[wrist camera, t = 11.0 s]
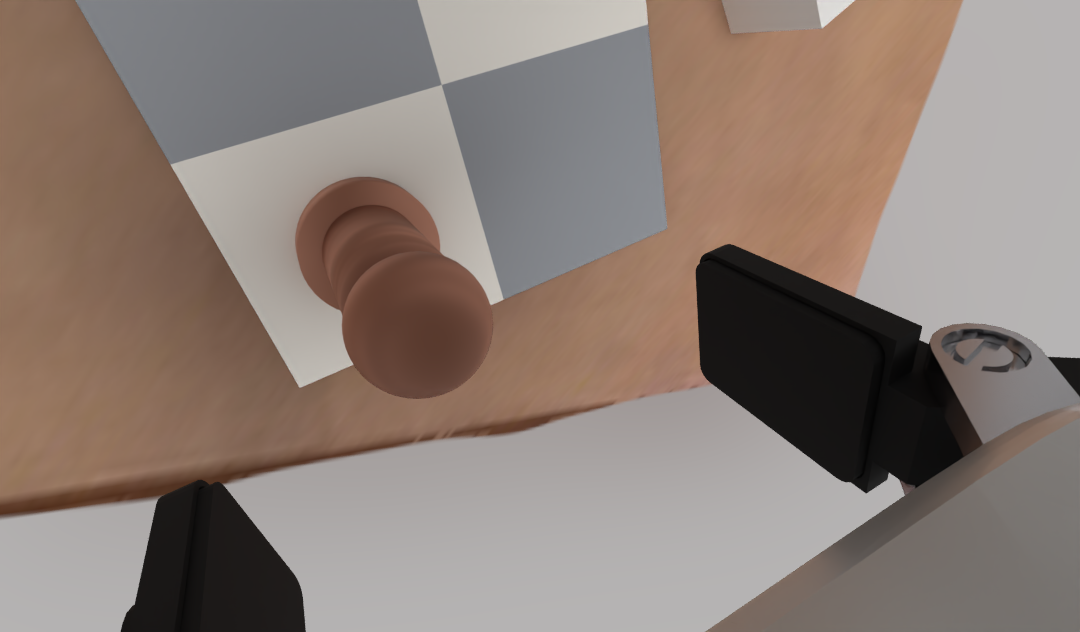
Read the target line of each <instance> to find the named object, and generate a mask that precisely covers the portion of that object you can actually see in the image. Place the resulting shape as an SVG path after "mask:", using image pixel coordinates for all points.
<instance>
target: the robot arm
mask: <svg viewBox="0 0 1080 632" xmlns="http://www.w3.org/2000/svg"><path fill="white" fill-rule="evenodd" d="M696 288H697V308H698V329H699V350H700V367H701V370H702V373H703V375H704V376H705V378H706V379H707V380H708V381H709V382H710V383H712V384H713V385H714V386H716V387H717V388H718V389H719V390H721V391H722V392H724V393H725V394H726V395H728V396H729V397H730V398H731V399H733V400H734V401H735V402H737V403H738V404H739V405H741V406H742V407H743V408H745V409H746V410H747V411H749V412H750V413H751V414H753V415H754V416H755V417H757V418H758V419H759V420H761V421H762V422H763V423H765V424H766V425H767V426H768V427H770V428H771V429H773V430H774V431H775V432H777V433H778V434H779V435H780V436H782V437H783V438H784V439H786V440H787V441H788V442H790V443H791V444H792V445H794V446H795V447H796V448H798V449H799V450H800V451H802V452H803V453H804V454H806V455H807V456H808V457H810V458H811V459H812V460H813V461H815V462H816V463H817V464H819V465H820V466H821V467H823V468H824V469H826V470H827V471H828V472H830V473H831V474H832V475H833V476H835V477H836V478H838V479H839V480H841V481H844V482H851V483H853V484H854V485H855V486H857V487H858V488H859V489H861V490H862V491H864V492H865V493H868V492H869V491H871V490H872V489H874V488H875V487H877V486H878V485H880V484H881V483H883V482H884V481H886V480H887V478H888V474H889V473H891V474H892V475H894V476H895V477H897V478H898V479H899V480H900V483H901V485H902V488H903V491H904V494H905V496H904V497H902V498H901V499H899V500H898V501H896V502H895V503H893V504H892V505H890V506H889V507H888V508H886V509H885V510H883V511H882V512H880V513H879V514H877V515H876V516H874V517H873V518H872V519H870V520H868V521H867V522H865V523H864V524H863V525H861V526H860V527H858V528H857V529H855V530H854V531H852V532H851V533H849V534H848V535H846V536H845V537H843V538H842V539H840V540H839V541H838V542H836V543H834V544H833V545H832V546H830V547H829V548H827V549H826V550H824V551H823V552H821V553H820V554H818V555H817V556H815V557H814V558H812V559H811V560H809V561H808V562H806V563H805V564H804V565H802V566H801V567H799V568H798V569H796V570H795V571H793V572H792V573H791V574H789V575H788V576H786V577H785V578H783V579H782V580H780V581H779V582H778V583H776V584H774V585H773V586H771V587H770V588H769V589H767V590H766V591H764V592H763V593H761V594H760V595H758V596H757V597H756V598H754V599H753V600H751V601H750V602H748V603H747V604H745V605H744V606H742V607H741V608H739V609H738V610H736V611H735V612H734V613H732V614H731V615H729V616H728V617H726V618H725V619H724V620H722V621H720V622H719V623H718V624H716V625H715V626H713V627H712V628H710V629H709V630H707V631H706V632H1080V358H1060V357H1047V356H1046V355H1045V353H1044V352H1043V351H1042V350H1041V349H1040V348H1039V347H1038V346H1037V345H1036V344H1035V343H1033V342H1032V341H1031V340H1030V339H1027V338H1026V337H1024V336H1022V335H1020V334H1018V333H1016V332H1013V331H1010V330H1007V329H1004V328H1001V327H996V326H991V325H986V324H971V323H964V324H954V325H950V326H947V327H944V328H941V329H939V330H938V331H936V332H935V333H934V334H933V335H932V337H931V339H930V342H929V344H927V343H924V342H923V341H920V340H919V338H920V334H921V329H922V326H920V325H918V324H916V323H913V322H911V321H909V320H906V319H904V318H902V317H899V316H897V315H894V314H892V313H890V312H888V311H885V310H883V309H881V308H878V307H876V306H874V305H871V304H869V303H867V302H864V301H862V300H860V299H857V298H855V297H853V296H851V295H848V294H846V293H844V292H841V291H839V290H837V289H834V288H832V287H830V286H827V285H825V284H823V283H820V282H818V281H816V280H813V279H811V278H809V277H806V276H804V275H802V274H799V273H797V272H795V271H792V270H790V269H788V268H786V267H783V266H781V265H779V264H776V263H774V262H772V261H769V260H767V259H765V258H762V257H760V256H758V255H755V254H753V253H751V252H748V251H746V250H744V249H741V248H739V247H737V246H734V245H731V244H727V245H724V246H721V247H719V248H717V249H715V250H713V251H710V252H708V253H706V254H704V255H703V256H702V257H701V259H700V264H699V265H698V266H697V268H696ZM121 632H306V630H305V618H304V607H303V597H302V591H301V588H300V585H299V582H298V580H297V578H296V577H295V575H294V574H293V572H292V571H291V570H290V568H289V567H288V566H287V565H286V563H285V562H284V561H283V560H282V559H281V557H280V556H279V555H278V553H277V552H276V551H275V550H274V548H273V547H272V546H271V545H270V543H269V542H268V541H267V540H266V538H265V537H264V536H263V534H262V533H261V532H260V531H259V529H258V528H257V527H256V526H255V524H254V523H253V522H252V520H251V519H250V518H249V517H248V516H247V514H246V513H245V512H244V510H243V509H242V508H241V507H240V505H239V504H238V503H237V502H236V500H235V499H234V498H233V496H232V495H231V494H230V493H229V492H228V490H227V489H226V488H225V487H224V485H223V484H221V483H220V482H215V483H213V484H211V485H209V484H208V483H207V482H205V481H203V480H197V481H195V482H193V483H191V484H188V485H186V486H184V487H182V488H179V489H177V490H175V491H173V492H170V493H168V494H166V495H164V496H162V497H160V498H159V499H158V501H157V504H156V508H155V513H154V517H153V523H152V527H151V531H150V536H149V541H148V545H147V551H146V555H145V559H144V564H143V569H142V573H141V578H140V583H139V588H138V592H137V597H136V601H135V605H133V606H132V607H131V608H130V610H129V611H128V612H127V613H126V616H125V619H124V622H123V624H122V629H121Z"/></svg>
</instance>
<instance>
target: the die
mask: <svg viewBox="0 0 1080 632" xmlns="http://www.w3.org/2000/svg"><path fill="white" fill-rule="evenodd" d="M853 1H855V0H722V4H723V7H724V10H725V14H726V17H727V21H728V24H729V27H730V31H731V34H735V33H753V32H771V31H789V30H806V29H822V28H823V27H824V26H825V25H827V24H828V23H829V22H830V21H831V20H832V19H834V18H835V17H836V16H837V15H838V14H839V13H841V12H842V11H843V10H844V9H845V8H846V7H848V6H849V5H850V4H851V3H852V2H853Z"/></svg>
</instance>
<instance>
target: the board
mask: <svg viewBox="0 0 1080 632" xmlns="http://www.w3.org/2000/svg"><path fill="white" fill-rule="evenodd" d="M75 1H76V2H77V4H78V6H79V8H80V9H81V11H82V13H83V14H84V16H85V18H86V20H87V21H88V23H89V25H90V27H91V28H92V30H93V32H94V33H95V35H96V37H97V39H98V40H99V42H100V44H101V46H102V47H103V49H104V51H105V52H106V54H107V56H108V58H109V59H110V61H111V63H112V65H113V66H114V68H115V70H116V71H117V73H118V75H119V77H120V78H121V80H122V82H123V84H124V85H125V87H126V89H127V90H128V92H129V94H130V96H131V97H132V99H133V101H134V103H135V104H136V106H137V108H138V109H139V111H140V113H141V115H142V116H143V118H144V120H145V122H146V123H147V125H148V127H149V128H150V130H151V132H152V134H153V135H154V137H155V139H156V141H157V142H158V144H159V146H160V147H161V149H162V151H163V153H164V154H165V156H166V158H167V160H168V161H169V163H170V165H171V166H172V168H173V170H174V172H175V173H176V175H177V177H178V179H179V180H180V182H181V184H182V185H183V187H184V189H185V191H186V192H187V194H188V196H189V198H190V199H191V201H192V203H193V204H194V206H195V208H196V210H197V211H198V213H199V215H200V217H201V218H202V220H203V222H204V223H205V225H206V227H207V229H208V230H209V232H210V234H211V236H212V237H213V239H214V241H215V242H216V244H217V246H218V248H219V249H220V251H221V253H222V254H223V256H224V258H225V260H226V261H227V263H228V265H229V267H230V268H231V270H232V272H233V273H234V275H235V277H236V279H237V280H238V282H239V284H240V286H241V287H242V289H243V291H244V292H245V294H246V296H247V298H248V299H249V301H250V303H251V305H252V306H253V308H254V310H255V311H256V313H257V315H258V317H259V318H260V320H261V322H262V324H263V325H264V327H265V329H266V330H267V332H268V334H269V336H270V337H271V339H272V341H273V343H274V344H275V346H276V348H277V349H278V351H279V353H280V355H281V356H282V358H283V360H284V362H285V363H286V365H287V367H288V368H289V370H290V372H291V374H292V375H293V377H294V379H295V381H296V382H297V384H298V386H299V387H300V388H301V387H303V386H305V385H308V384H310V383H312V382H315V381H317V380H319V379H322V378H324V377H326V376H328V375H331V374H333V373H335V372H338V371H340V370H342V369H345V368H347V367H349V366H352V365H354V364H353V363H352V361H351V359H350V357H349V355H348V353H347V350H346V348H345V344H344V340H343V335H342V313H341V311H340V310H338V309H335V308H334V307H332V306H330V305H328V304H327V303H325V302H324V301H323V300H321V299H320V298H319V297H318V296H317V295H316V294H315V293H314V292H313V291H312V289H311V288H310V287H309V286H308V284H307V282H306V281H305V279H304V277H303V274H302V272H301V269H300V265H299V261H298V257H297V253H296V246H295V235H296V229H297V224H298V221H299V219H300V216H301V214H302V212H303V210H304V208H305V207H306V206H307V204H308V203H309V202H310V200H311V199H312V198H313V197H314V196H315V195H316V194H317V193H319V192H320V191H321V190H323V189H324V188H326V187H327V186H329V185H331V184H333V183H335V182H338V181H340V180H344V179H348V178H353V177H374V178H380V179H384V180H387V181H390V182H392V183H395V184H396V185H398V186H400V187H402V188H403V189H405V190H406V191H407V192H409V193H410V194H411V195H412V196H414V197H415V198H416V199H417V200H418V201H419V202H420V203H421V204H422V205H423V206H424V207H425V208H426V209H427V211H428V212H429V213H430V215H431V217H432V218H433V220H434V222H435V225H436V227H437V230H438V234H439V239H440V252H441V253H442V254H443V255H444V256H445V257H448V258H450V259H452V260H454V261H456V262H458V263H459V264H461V265H462V266H463V267H465V268H466V269H467V270H469V271H470V272H471V273H472V274H473V275H474V277H475V278H476V279H477V280H478V282H479V283H480V284H481V286H482V287H483V289H484V291H485V293H486V295H487V297H488V300H489V303H490V305H492V304H495V303H497V302H499V301H502V300H504V299H506V298H509V297H511V296H513V295H515V294H518V293H520V292H522V291H525V290H527V289H529V288H532V287H534V286H536V285H539V284H541V283H543V282H545V281H548V280H550V279H552V278H555V277H557V276H559V275H562V274H564V273H566V272H569V271H571V270H573V269H575V268H578V267H580V266H582V265H585V264H587V263H589V262H592V261H594V260H596V259H599V258H601V257H603V256H605V255H608V254H610V253H612V252H615V251H617V250H619V249H622V248H624V247H626V246H629V245H631V244H633V243H635V242H638V241H640V240H642V239H645V238H647V237H649V236H652V235H654V234H656V233H659V232H661V231H663V230H665V229H667V220H666V209H665V199H664V188H663V177H662V167H661V156H660V145H659V135H658V124H657V114H656V103H655V92H654V82H653V71H652V60H651V50H650V39H649V28H648V18H647V7H646V0H75Z"/></svg>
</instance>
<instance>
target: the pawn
mask: <svg viewBox="0 0 1080 632" xmlns="http://www.w3.org/2000/svg"><path fill="white" fill-rule="evenodd" d="M295 246H296V253H297V257H298V261H299V265H300V269H301V272H302V274H303V277H304V279H305V281H306V282H307V284H308V286H309V287H310V288H311V289H312V291H313V292H314V293H315V294H316V295H317V296H318V297H319V298H320V299H321V300H323V301H324V302H325V303H327V304H328V305H330V306H332V307H334V308H335V309H338V310H340V311H341V313H342V335H343V340H344V344H345V348H346V350H347V353H348V355H349V357H350V359H351V361H352V363H353V364H354V366H355V368H356V369H357V370H358V371H359V372H360V374H361V375H362V376H363V377H364V378H365V379H367V380H368V381H369V382H370V383H371V384H373V385H374V386H376V387H377V388H379V389H381V390H383V391H385V392H387V393H389V394H392V395H395V396H399V397H405V398H413V399H421V398H430V397H435V396H439V395H442V394H445V393H447V392H450V391H452V390H454V389H455V388H457V387H459V386H460V385H462V384H463V383H464V382H466V381H467V380H468V379H469V378H470V377H471V376H472V375H473V374H474V373H475V372H476V371H477V369H478V368H479V367H480V365H481V364H482V362H483V360H484V359H485V357H486V355H487V352H488V350H489V347H490V344H491V339H492V333H493V317H492V310H491V306H490V303H489V300H488V297H487V295H486V293H485V291H484V289H483V287H482V286H481V284H480V283H479V282H478V280H477V279H476V278H475V277H474V275H473V274H472V273H471V272H470V271H469V270H467V269H466V268H465V267H463V266H462V265H461V264H459V263H458V262H456V261H454V260H452V259H450V258H448V257H445V256H444V255H443V254H442V253H441V252H440V239H439V234H438V230H437V227H436V225H435V222H434V220H433V218H432V217H431V215H430V213H429V212H428V211H427V209H426V208H425V207H424V206H423V205H422V204H421V203H420V202H419V201H418V200H417V199H416V198H415V197H414V196H412V195H411V194H410V193H409V192H407V191H406V190H405V189H403V188H402V187H400V186H398V185H396V184H395V183H392V182H390V181H387V180H384V179H380V178H374V177H353V178H348V179H344V180H340V181H338V182H335V183H333V184H331V185H329V186H327V187H326V188H324V189H323V190H321V191H320V192H319V193H317V194H316V195H315V196H314V197H313V198H312V199H311V200H310V202H309V203H308V204H307V206H306V207H305V208H304V210H303V212H302V214H301V216H300V219H299V221H298V224H297V229H296V235H295Z"/></svg>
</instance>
